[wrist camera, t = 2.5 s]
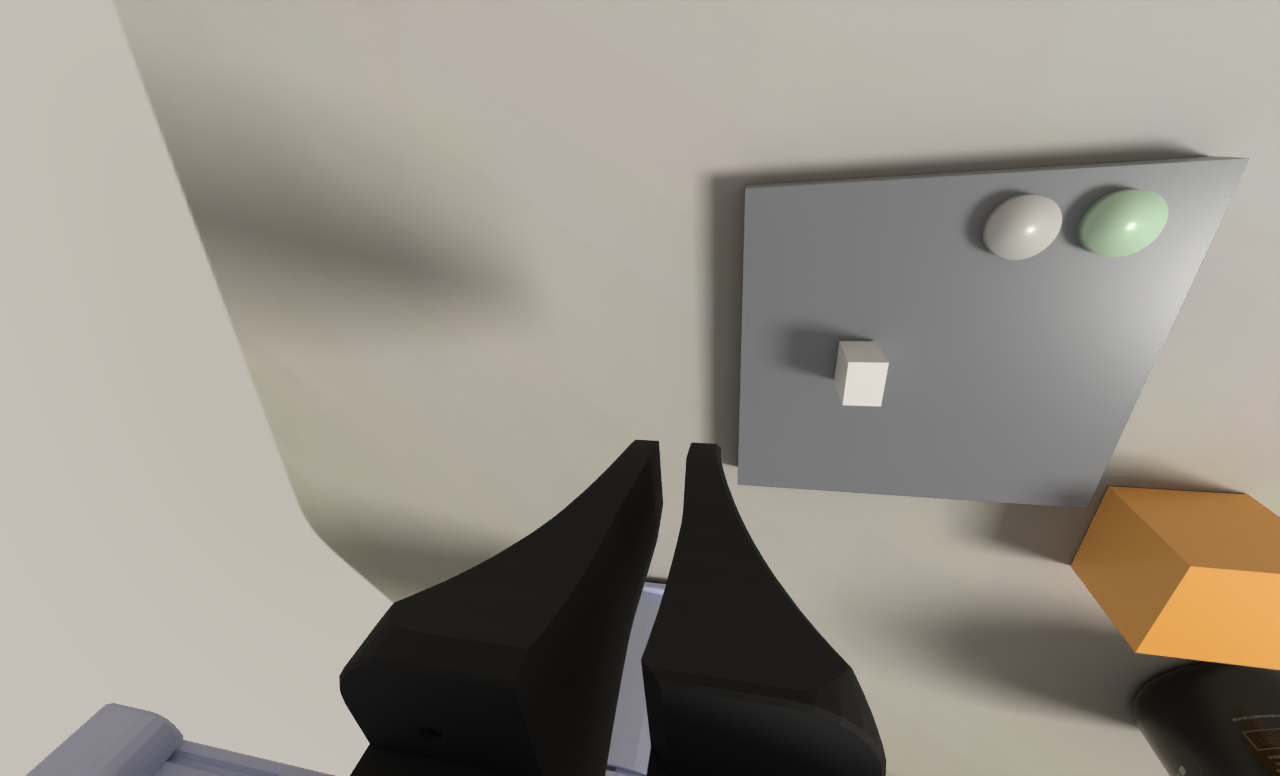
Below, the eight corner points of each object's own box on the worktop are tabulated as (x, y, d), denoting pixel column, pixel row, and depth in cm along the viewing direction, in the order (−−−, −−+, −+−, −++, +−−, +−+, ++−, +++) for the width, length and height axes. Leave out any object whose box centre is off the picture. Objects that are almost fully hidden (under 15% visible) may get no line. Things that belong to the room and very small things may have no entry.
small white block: (834, 381, 18) (842, 405, 16) (839, 340, 17) (848, 361, 15) (869, 381, 17) (881, 406, 16) (875, 341, 17) (889, 362, 15)
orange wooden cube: (1070, 565, 21) (1134, 652, 17) (1108, 486, 19) (1190, 566, 15) (1193, 577, 20) (1288, 671, 16) (1248, 494, 18) (1369, 581, 14)
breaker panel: (738, 467, 22) (737, 492, 20) (745, 185, 16) (745, 190, 15) (1068, 487, 19) (1095, 517, 18) (1211, 156, 14) (1268, 159, 12)
